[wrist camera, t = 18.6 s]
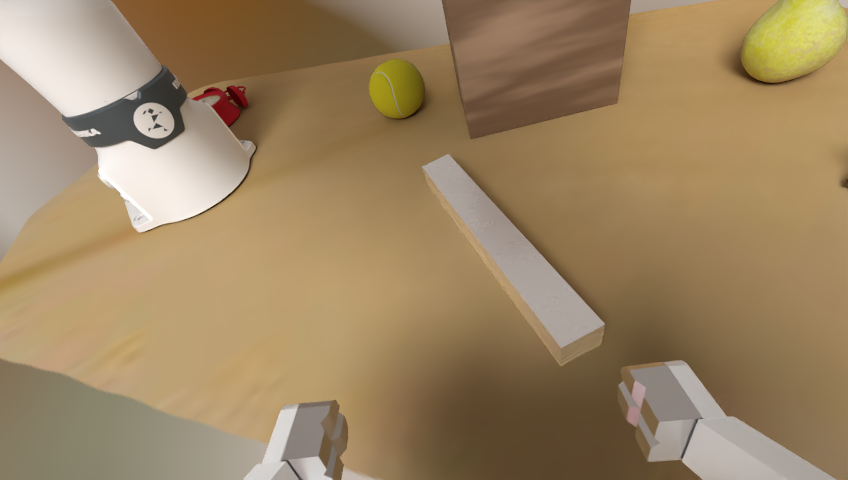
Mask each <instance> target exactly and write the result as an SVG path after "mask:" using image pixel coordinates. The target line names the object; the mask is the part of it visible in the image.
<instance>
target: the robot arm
mask: <svg viewBox="0 0 848 480" xmlns="http://www.w3.org/2000/svg"><path fill="white" fill-rule="evenodd" d="M0 59H1V60H2V61H4V62H5V63H6V64H7V65H8V66H9V67H10V68H12V69H13V70H14V71H15V72H16V73H17V74H19V75H20V76H21V77H22V78H23V79H24V80H26V81H27V82H28V83H29V84H30V85H31V86H33V87H34V88H35V89H36V90H37V91H38V92H39V93H40V94H41V95H42V96H44V97H45V98H46V99H47V100H48V101H49V102H50V103H51V104H52V105H54V107H55V108H57V109H58V110H59V111H60V112H61V113H62V119H63V121H64V122H65V123H66V124H67V125H68V126H69V127H70V129H71V130H72V131H73V132H74V133H75V134H76V135H77V136H79V137H81V139H83V140H84V141H85V142H86V143H87V144H88V145H89V146H91V147H95V149H96V151H97V153H98V166H99V168H100V169H99V174H98V177H99V178H100V179H101V180H102V181H103V182H104V183H105V184H106V185H107V186H108V187H110V188H116V189H117V190H118V191H119V192H120V195H121V197H122V198H123V199H124V201H125V204H126V207H127V210H128V213H129V216H130V219H131V222H132V225H133V227H134V228H135V229H136V230H137V231H138V232H145V231H147V230H150V229H152V228H155V227H157V226H159V225H162V224H166V223H172V222H177V221H181V220H184V219H187V218H190V217H192V216H195V215H197V214H199V213H201V212H203V211H205V210H207V209H208V208H210V207H212V206H213V205H215V204H216V203H218V202H219V201H221V200H222V199H223V198H225V197H226V196H227V195H228V194H230V193H231V192H232V191H233V190H234V189H235V188H236V187H237V186H238V185H239V184H240V182H241V181H242V180H243V178H244V177H245V175H246V173H247V171H248V169H249V160H250V157H251V156H252V154H253V153H254V151H255V149H256V146H255V145H254V144H253V143H252V142H251V141H244V140H238V139H237V138H236V137H235V135H234V134H233V133H232V132H231V130H230V129H229V128H228V127H227V125H226V124H225V123H224V122H223V120H222V119H221V118H220V117H219V115H218V114H217V113H216V112H215V110H214V109H213V108H212V107H211V106H210V105H209V104H208V103H204V102H201V101H195V100H192V99H190V98H188V97H187V92H186V91H185V90H184V88H183V87H182V86H181V84H180V82H179V80H178V79H177V78H176V76H175V75H173V74H172V73H171V72H170V71H169V69H168V68H167V67H166V66H163V65H160V64H159V62H158V61H157V60H156V59H155V57H154V56H153V54H152V53H151V52H150V51H149V49H148V48H147V47H146V45H145V44H144V43H143V41H142V40H141V39H140V37H139V36H138V35H137V34H136V32H135V31H134V30H133V28H132V27H131V26H130V24H129V23H128V22H127V21H126V19H125V18H124V17H123V15H122V14H121V13H120V11H119V10H118V9H117V7H116V6H115V5H114V4H113V2H112V1H111V0H0ZM620 376H621V378H622V379H623V382H621V383H620V384H619V385H618V392H617V394H618V400H619V404H620V407H621V410H622V412H623V414H624V416H625V418H626V420H627V421H628V422H629V423H631V424H632V425H633V426H635V427H636V432H635V436H634V437H635V439H636V441H637V443H638V445H639V447H640V448H641V450H642V452H643V454H644V456H645V458H646V460H647V462H654V461H669V460H682V462H683V463H684V464H685V465H686V466H687V467H689V468H690V469H691V470H692V471H693V472H694V473H695V474H697V475H698V476H699V477H700V478H701V479H702V480H837V479H835V478H833V477H832V476H830V475H828V474H827V473H825V472H824V471H822V470H820V469H819V468H817V467H815V466H814V465H812V464H811V463H809V462H807V461H806V460H804V459H802V458H801V457H799V456H798V455H796V454H794V453H793V452H791V451H789V450H788V449H786V448H785V447H783V446H781V445H780V444H778V443H776V442H775V441H773V440H771V439H770V438H768V437H767V436H765V435H763V434H762V433H760V432H758V431H757V430H755V429H754V428H752V427H750V426H749V425H747V424H745V423H744V422H742V421H741V420H739V419H737V418H736V417H734V416H726V414H725V413H724V412H723V410H722V409H721V408H720V406H719V405H718V404H717V403H716V401H715V400H714V399H713V397H712V396H711V395H710V393H709V392H708V391H707V389H706V388H705V387H704V385H703V384H702V383H701V381H700V380H699V379H698V377H697V376H696V375H695V373H694V372H693V371H692V370H691V368H690V367H689V366H688V364H687V363H686V362H684V361H683V360H675V361H668V362H655V363H648V364H640V365H632V366H625V367H623V368H622V369H621V373H620ZM339 407H340V406H339V404H338V403H337V401H336V400H330V401H320V402H310V403H298V404H290V405H285V406H284V407H283V408H282V410H281V411H280V414H279V417H278V419H277V422H276V425H275V428H274V431H273V434H272V437H271V439H270V442H269V445H268V448H267V451H266V454H265V456H264V459H263V462H262V463H260V464H257V465H256V466H255V467H254V468H253V469H252V470H251V471H250V472H249V474H248V475H247V476H246V477H245V478H244V479H243V480H341V477H342V472H343V466H344V465H343V463H342V461H341V459H340V456H341V455H342V454H343V453H344V451H345V450H346V448H347V442H348V426H347V421H346V418H345V416H344V415H342V414H341V413H339Z"/></svg>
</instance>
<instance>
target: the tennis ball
mask: <svg viewBox="0 0 848 480" xmlns="http://www.w3.org/2000/svg"><path fill="white" fill-rule="evenodd" d="M424 92H425V87H424V81H423V78H422V76H421V74H420V73H419V71H418V70H417V69H416V67H415V66H414V65H412V64H411V63H409V62H407V61H405V60H401V59H392V60H388V61H386V62H384V63H382V64H381V65H379V66H378V67H377V68H376V69H375V71H374V72H373V74H372V75H371V78H370V82H369V93H370V97H371V100H372V102H373V104H374V105H375V107H376V108H377V109H378V110H379V111H380V112H381V113H382V114H384V115H385V116H387V117H390V118H406V117H408V116H410V115H411V114H413V113H414V112H415V111H416V110H417V109H418V108H419V107H420V105H421V104H422V101H423V98H424Z"/></svg>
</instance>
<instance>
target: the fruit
mask: <svg viewBox="0 0 848 480" xmlns="http://www.w3.org/2000/svg"><path fill="white" fill-rule="evenodd" d="M847 34H848V19H847V15H846V13H845V11H844V9H843V7H842V6H841V5H840V3H839V1H838V0H779V1H778V2H777V3H776V4H775V5H774V6H772V7H771V8H770V9H769V10H768V11H767V12H766V13H765V14H763V15H762V16H761V17H760V18H759V19H758V20H757V21H756V23H755V24H754V25H753V26H752V27H751V29H750V30H749V32H748V33H747V35H746V37H745V39H744V41H743V44H742V47H741V53H740V56H741V61H742V64H743V66H744V68H745V70H746V71H747V72H748V73H749V75H751V76H752V77H754V78H755V79H757V80H760V81H764V82H770V83H777V82H784V81H788V80H792V79H795V78H798V77H801V76H803V75H806V74H809V73H811V72H813V71H815V70H817V69H819V68H820V67H822V66H823V65H825V64H826V63H828V62H829V61H830V60H831V59H832V58H834V57H835V56H836V54H837V53H838V52H839V51H840V50H841V48H842V47H843V45H844V43H845V41H846V38H847Z"/></svg>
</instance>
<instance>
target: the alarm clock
mask: <svg viewBox="0 0 848 480" xmlns="http://www.w3.org/2000/svg"><path fill="white" fill-rule="evenodd" d="M239 88H244V90H243V91H241V90H240V89H239ZM245 89H246V88H245V87H243V86H239V87H235V86H229V87H227V90H226V91H225V92H223V91H222V90H220V89H218V88H214V87H212V88H208V89H207V90H205V91H204V93H203V94H202V95H199V96H197V97H195V98H193V99H192V100H195V101H201V102H204V103H208V104H209V105H210V106H211V107H212V108H213V109H214V110H215V112H216V113H217V114H218V115H219V117H220V118H221V119H222V120H223V122H224V123H225V124H226V125H227V127H228V126H229V125H231V124H232V123H233V122H234V121H235V120H236V119H237V118H238V116H239V114H240V110H239V108H238V107H236V106H235V105H233V104H232V103H231V102H230V101H229V100H231V99H233V100H234V102H235V103H236V104H237V105H238V106H239V107H241V106H242V105H244V108H246V107H247V106H248V101H247V99H246V97H245V95H244V93H245V92H244V91H245ZM226 92H228V93H229V95H230V96H228V97H227V95H226V94H225V93H226ZM228 98H229V99H228Z"/></svg>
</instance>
